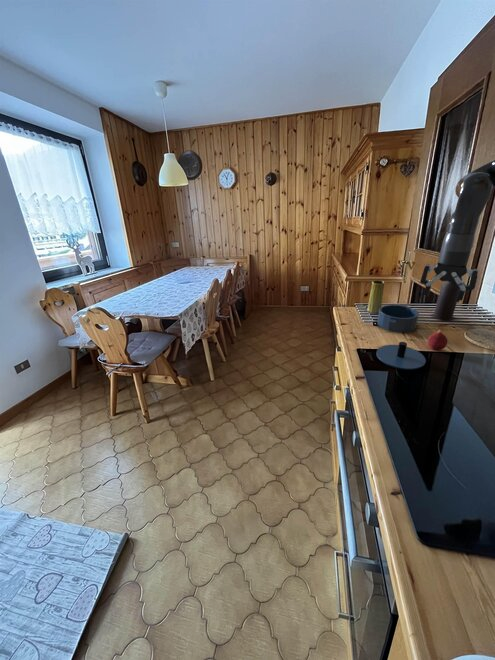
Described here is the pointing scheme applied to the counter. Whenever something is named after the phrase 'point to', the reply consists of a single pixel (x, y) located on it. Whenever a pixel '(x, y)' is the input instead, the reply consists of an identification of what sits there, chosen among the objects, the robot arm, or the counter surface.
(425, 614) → the counter surface
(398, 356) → the lid
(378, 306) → the vase
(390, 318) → the pot
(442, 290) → the bottle
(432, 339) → the onion
